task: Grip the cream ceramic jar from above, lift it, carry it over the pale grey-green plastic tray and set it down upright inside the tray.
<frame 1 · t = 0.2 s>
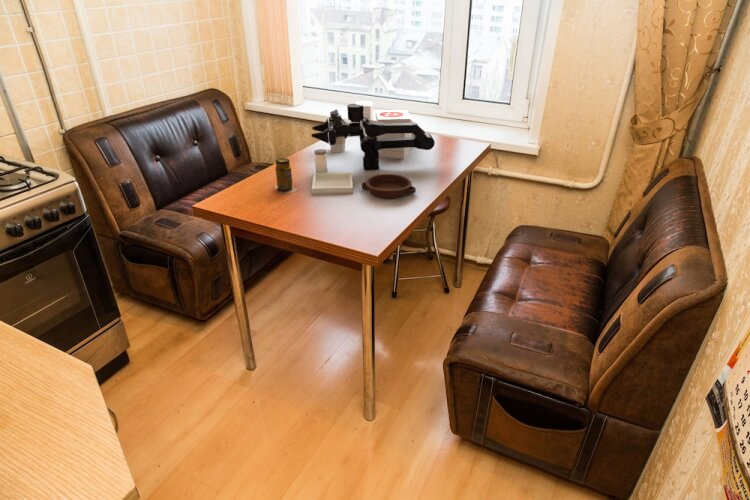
hand: (312, 131, 204), 17 cm above the table, tool horizontal, fingers open, 9 cm apart
jar: (321, 173, 208), on the table
tray: (332, 185, 196), on the table
condiment: (285, 189, 193), on the table
coffee cup: (337, 150, 234), on the table
dish: (388, 193, 191), on the table
supplement box: (363, 131, 261), on the table
pizza boxes: (394, 149, 236), on the table
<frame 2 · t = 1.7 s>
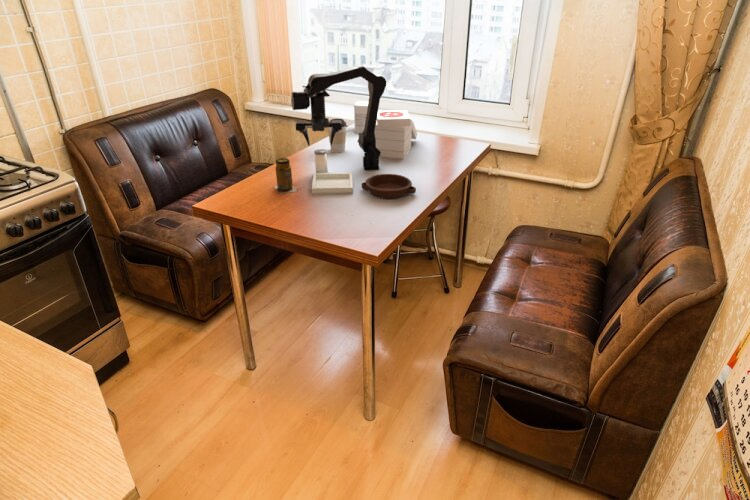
hand: (320, 145, 201), 12 cm above the table, tool pointing down, fingers open, 9 cm apart
nothing on the table moved.
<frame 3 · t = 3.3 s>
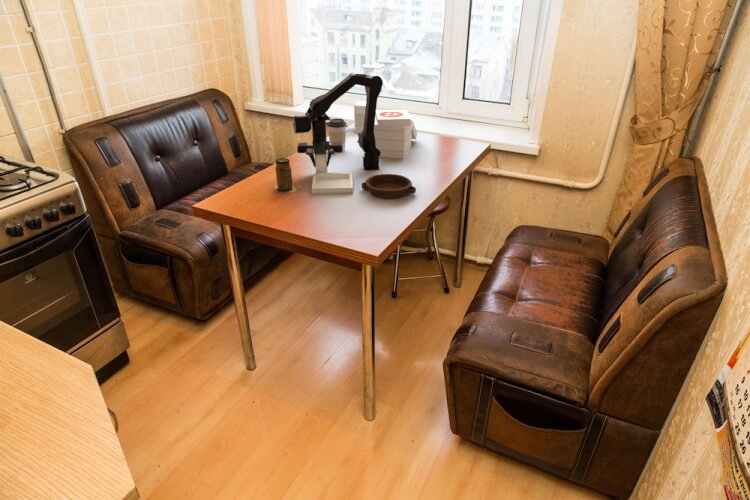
hand: (321, 166, 206), 3 cm above the table, tool pointing down, fingers closed on jar, 5 cm apart
jar: (321, 173, 208), on the table, touching gripper
everything else where it was.
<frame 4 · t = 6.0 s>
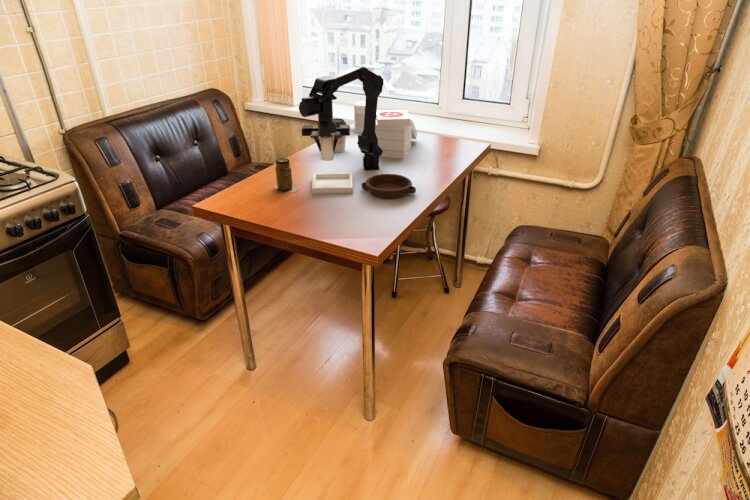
hand: (327, 151, 193), 13 cm above the table, tool pointing down, fingers closed on jar, 5 cm apart
jar: (327, 158, 195), point 10 cm above the table, touching gripper
everything else where it was.
when the fingers open (5 cm above the table, at t = 8.7 s): jar drops 2 cm, resting on tray.
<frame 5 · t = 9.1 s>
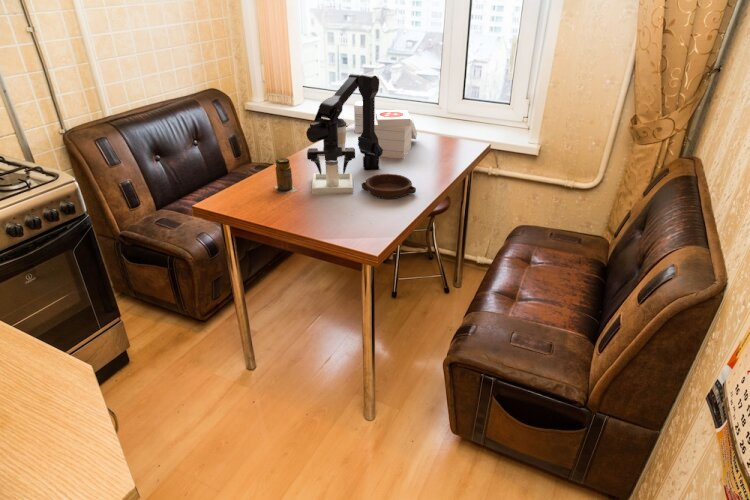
hand: (332, 173, 193), 5 cm above the table, tool pointing down, fingers open, 9 cm apart
jar: (332, 184, 196), point 1 cm above the table, touching tray
everything else where it was.
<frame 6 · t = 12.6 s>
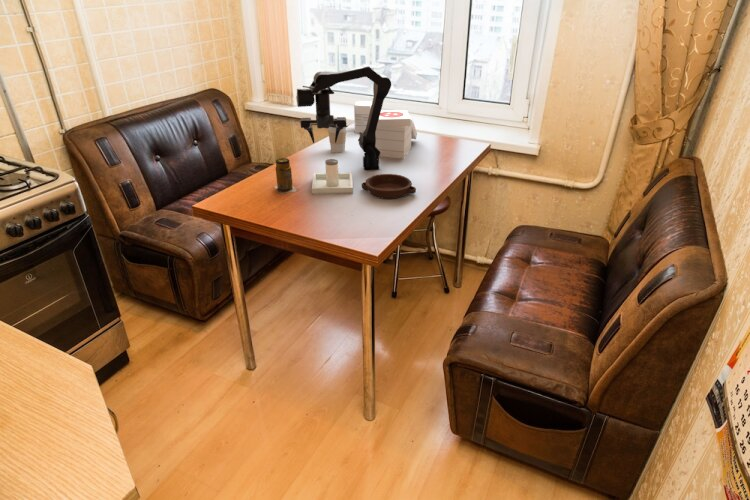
hand: (324, 142, 203), 13 cm above the table, tool pointing down, fingers open, 9 cm apart
nothing on the table moved.
at the end: jar inside the target area on the tray (0.0 cm from its centre), point 0.6 cm above the tray's base; jar tilted 0°; the gripper is holding nothing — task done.
